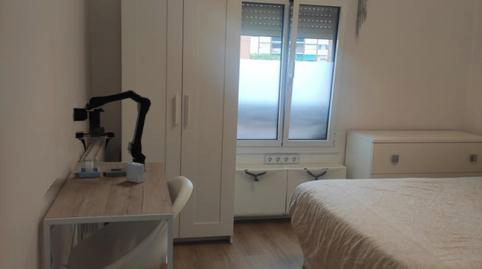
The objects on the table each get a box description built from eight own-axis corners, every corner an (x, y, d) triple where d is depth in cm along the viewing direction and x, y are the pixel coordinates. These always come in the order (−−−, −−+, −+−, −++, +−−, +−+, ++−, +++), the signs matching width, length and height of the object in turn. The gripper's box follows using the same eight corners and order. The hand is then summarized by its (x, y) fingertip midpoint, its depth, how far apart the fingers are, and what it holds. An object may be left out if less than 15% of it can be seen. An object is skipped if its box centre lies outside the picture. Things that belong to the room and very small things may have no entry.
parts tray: (99, 171, 230) (99, 166, 230) (100, 177, 219) (100, 172, 219) (79, 172, 227) (78, 167, 227) (78, 177, 216) (78, 172, 215)
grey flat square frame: (125, 171, 234) (125, 167, 233) (126, 175, 224) (126, 171, 224) (105, 171, 230) (105, 168, 230) (106, 176, 221) (106, 172, 221)
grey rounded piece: (93, 172, 225) (93, 157, 224) (93, 174, 222) (93, 158, 221) (85, 172, 224) (85, 157, 223) (85, 174, 220) (85, 159, 219)
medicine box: (144, 181, 214) (144, 164, 213) (138, 183, 210) (138, 165, 209) (133, 179, 218) (133, 161, 217) (126, 180, 214) (126, 163, 213)
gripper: (74, 123, 211) (75, 155, 214) (115, 122, 218) (115, 153, 220) (75, 120, 222) (75, 150, 224) (113, 119, 228) (113, 149, 231)
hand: (95, 151), depth 224 cm, fingers open, 9 cm apart
